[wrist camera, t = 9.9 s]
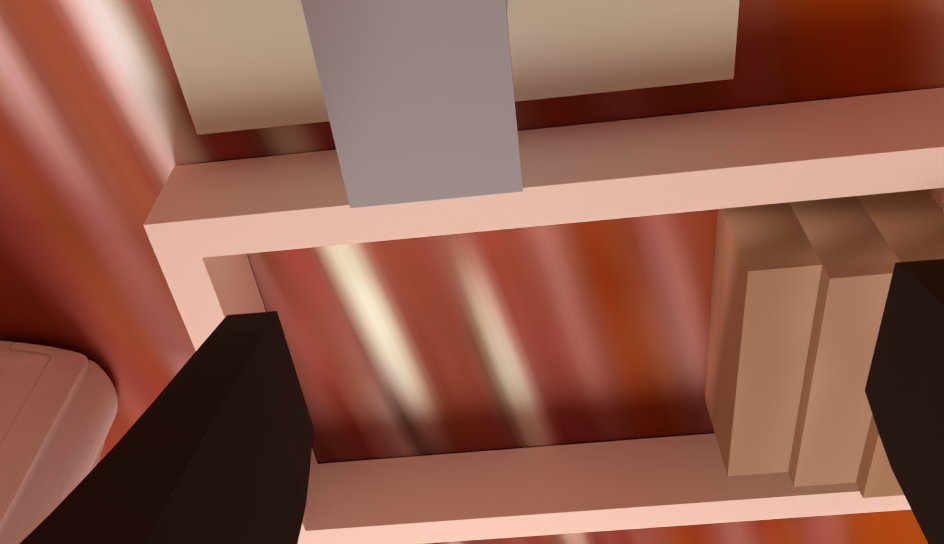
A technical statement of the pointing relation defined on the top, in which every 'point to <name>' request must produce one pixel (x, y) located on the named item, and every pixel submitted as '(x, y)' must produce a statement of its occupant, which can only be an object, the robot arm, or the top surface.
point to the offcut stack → (808, 332)
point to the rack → (542, 203)
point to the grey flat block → (418, 97)
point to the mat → (531, 45)
